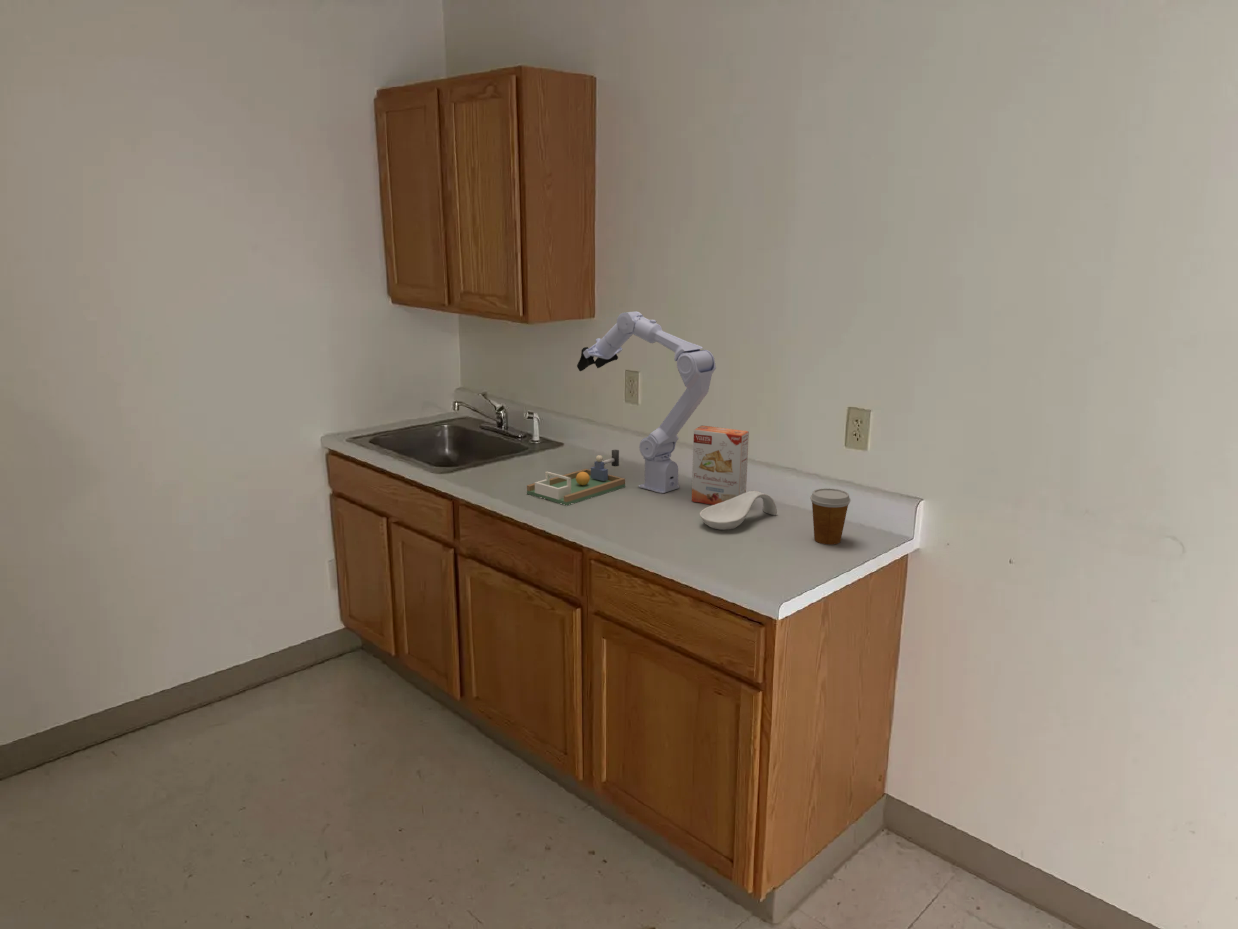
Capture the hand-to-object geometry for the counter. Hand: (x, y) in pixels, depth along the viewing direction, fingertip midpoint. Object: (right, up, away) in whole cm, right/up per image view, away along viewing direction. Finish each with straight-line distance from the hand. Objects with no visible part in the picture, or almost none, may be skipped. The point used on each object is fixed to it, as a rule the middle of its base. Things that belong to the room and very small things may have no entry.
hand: (587, 366), depth 270 cm
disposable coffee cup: (+60, -48, -51) cm, 93 cm away
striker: (+6, -33, -3) cm, 34 cm away
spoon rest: (+41, -45, -38) cm, 71 cm away
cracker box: (+37, -40, -23) cm, 59 cm away
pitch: (-3, -37, -13) cm, 39 cm away
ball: (-1, -34, -12) cm, 35 cm away
